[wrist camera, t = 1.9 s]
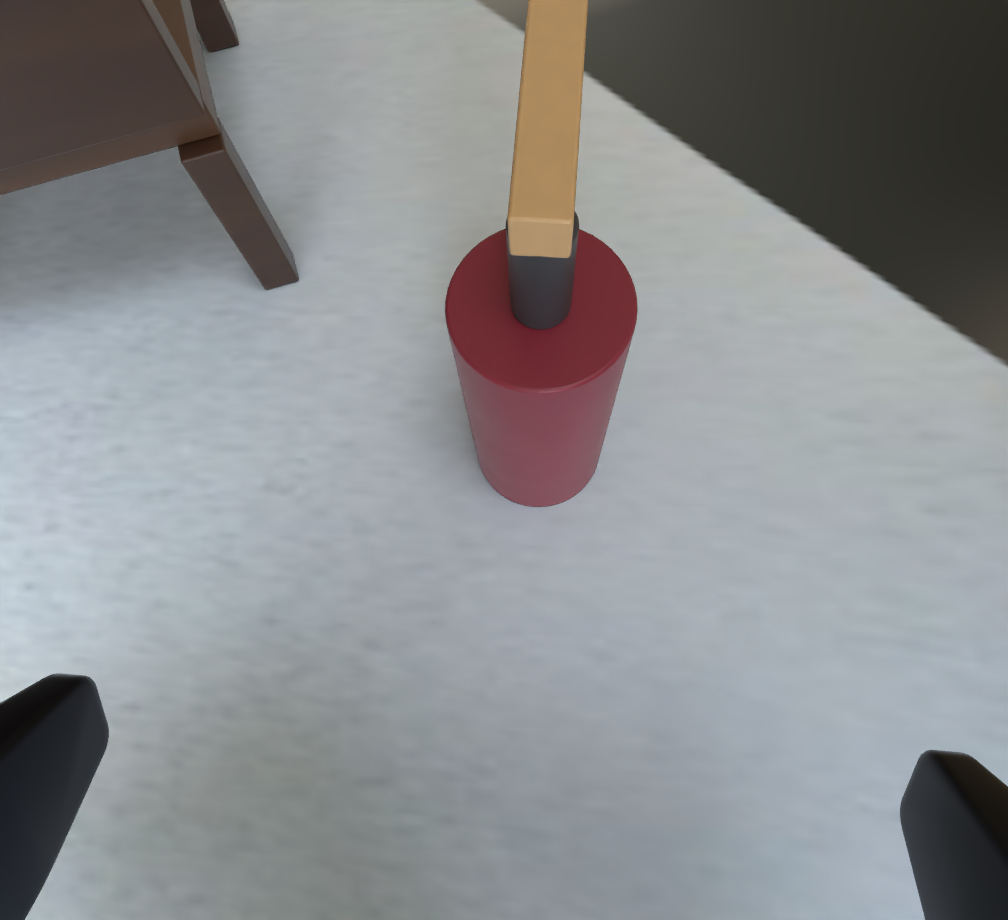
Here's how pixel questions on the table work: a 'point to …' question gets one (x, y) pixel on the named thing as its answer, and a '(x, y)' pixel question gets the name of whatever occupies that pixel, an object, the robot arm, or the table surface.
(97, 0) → the chair
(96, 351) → the table surface
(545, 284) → the red cylinder with handle
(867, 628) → the table surface
